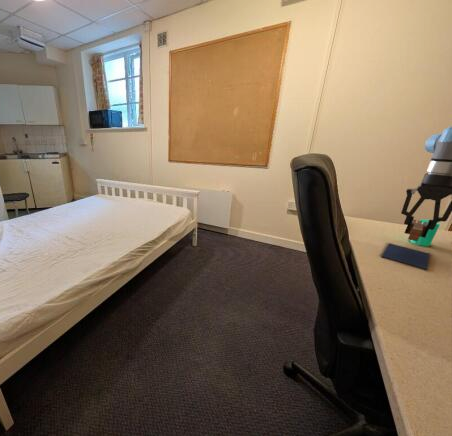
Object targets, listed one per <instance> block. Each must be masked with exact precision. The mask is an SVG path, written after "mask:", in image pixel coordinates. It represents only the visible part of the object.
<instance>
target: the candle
mask: <svg viewBox="0 0 452 436" xmlns="http://www.w3.org/2000/svg"><path fill="white" fill-rule="evenodd" d="M419 220H420V221H422V223H421V224H423V223H424V221H425V222H429V220H432V218H430V219H422V218H421V219H419ZM440 225H441V223H439V222H437V224H436V226H435V228H434V229H433V230H431V229H429V230H428V232H427V235H426V237H425V238H424V237H419V239H418V241H413V240H410V242H411V243H412V244H414V245H417V246H422V247H430V246H431V244H432V242H433V240H434V238H435V236H436V234H437V232H438V230H439V227H440Z"/></svg>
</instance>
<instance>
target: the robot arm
mask: <svg viewBox="0 0 452 436" xmlns="http://www.w3.org/2000/svg"><path fill="white" fill-rule="evenodd" d="M424 149H425V151H426V152H427V153H431V154H432V157H431V159H430V160H429V163H428V165H427V168H426V172H427V173H424V175H423V178H422V180H421V182H420V184H419V185H418V186H417V187H413V188H410V187H409V188H407V189H406V191H405V192H406V197H405V201H404V203H403V205H402V209H401V211H400V214H401V215H404V216H405V219H404V221H403V224H404V225H407V226H406V228H405V230H404V234H406V235H408V234H407V233H408V230H409V228H410V226H411V223H412V221H413V219H414V220H415V216H413V215H414V214H415V212H417V210H418V209H419V208H420V206H421V205H422V204H423V203H424V201H425V200H431V201H434V209H433V218H432V219H431V220H430V219H428V220H429V222H428V224H427V227H426V229H425V231H424V234H423V236H422V237H424V238H425V237H426V235H427V232H428V230H429V229H431V230H433V229H434V228H435V226H436V224H437V223H439V222H444V223H445V222H447V221H448V219H449V217H450V216H451V214H452V126H449V127H446V128H445V129H444V130H443V131H442V133H436V134H433V135H431V136H430V137H429V138H427V140H426V141H425V142H424ZM416 192H417V193H418V195H419V196H420V197H419V198H418V200H417V201H416V203H414V205H413V206H412V208H411V209H410V210H409V211H408V209H409V206H410V203H411V200H412V197H413V195H414V194H415V193H416ZM449 196H451V197H450V199H451V200H450V202H449V203H448V205H447V207H446V209H445V211H444V212H443V215H442V216H440V210H441V202H442V200H443V199H445V198H447V197H449Z"/></svg>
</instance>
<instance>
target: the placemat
mask: <svg viewBox="0 0 452 436" xmlns="http://www.w3.org/2000/svg"><path fill="white" fill-rule="evenodd" d="M429 257H430V253H429V252H425V251H421V250H417V249H413V248H409V247H405V246H402V245H397V244H394V243H388V245H387V246H386V248H385V250H384V252H383V254H382V255H381V258H383V259H387V260H390V261H394V262H396V263H397V262H398V263H400V264H404V265H407V266H410V267H415V268H418V269H422V270H425V271H427V268H428V263H429Z"/></svg>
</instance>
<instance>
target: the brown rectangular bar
mask: <svg viewBox="0 0 452 436" xmlns="http://www.w3.org/2000/svg"><path fill="white" fill-rule="evenodd" d="M420 220H421V219H419V220H418V221H417V219H415V218H414V219H413V221H412V223H411V226H410V228H409V230H408V233H407V234H406V235H408V237H407V240H409V241H411V240H413V241H418V239H419V237H422V236H423V234H424V231H425V229H426V227H427V224H428V222H425V221H424V223H423V224H421V223H422V221H420Z"/></svg>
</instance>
